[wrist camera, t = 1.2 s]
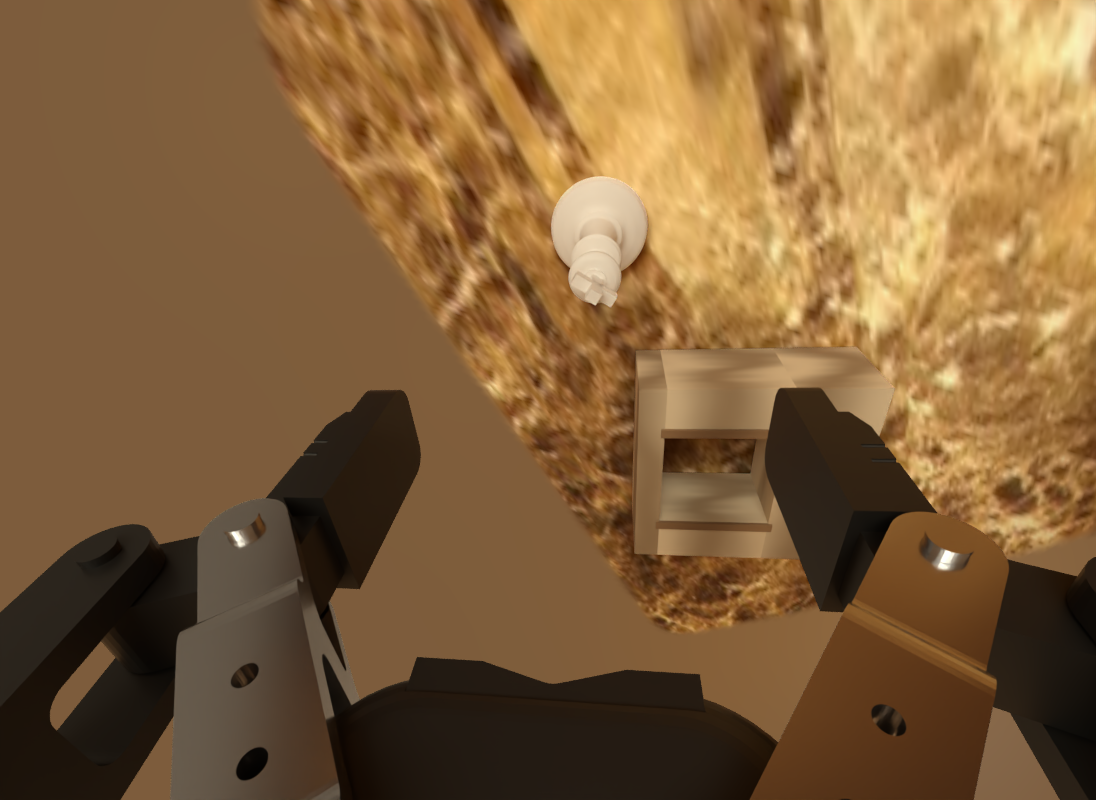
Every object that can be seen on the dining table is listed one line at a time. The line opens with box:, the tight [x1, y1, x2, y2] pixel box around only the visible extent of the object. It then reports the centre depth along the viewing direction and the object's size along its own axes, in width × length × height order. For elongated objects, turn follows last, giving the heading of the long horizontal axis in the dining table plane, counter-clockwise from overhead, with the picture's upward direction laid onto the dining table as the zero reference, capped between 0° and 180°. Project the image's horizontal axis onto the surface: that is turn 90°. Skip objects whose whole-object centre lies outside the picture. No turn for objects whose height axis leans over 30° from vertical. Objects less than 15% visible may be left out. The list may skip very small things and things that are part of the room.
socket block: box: [632, 347, 895, 560], centre depth 30 cm, size 12×12×5 cm
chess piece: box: [551, 176, 648, 307], centre depth 22 cm, size 5×5×10 cm
